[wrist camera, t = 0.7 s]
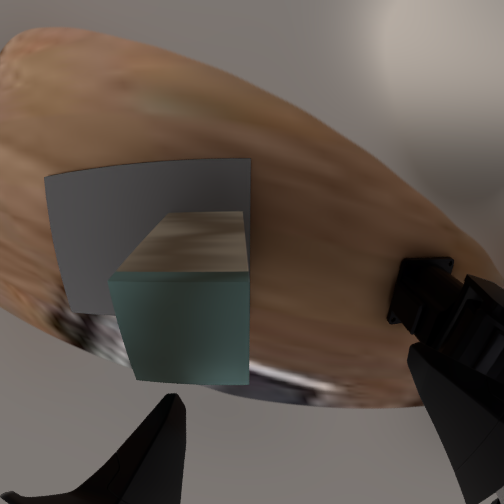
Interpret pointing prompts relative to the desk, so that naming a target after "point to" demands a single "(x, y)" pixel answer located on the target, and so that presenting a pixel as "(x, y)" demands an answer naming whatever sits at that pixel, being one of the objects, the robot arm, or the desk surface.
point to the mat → (131, 215)
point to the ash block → (187, 301)
